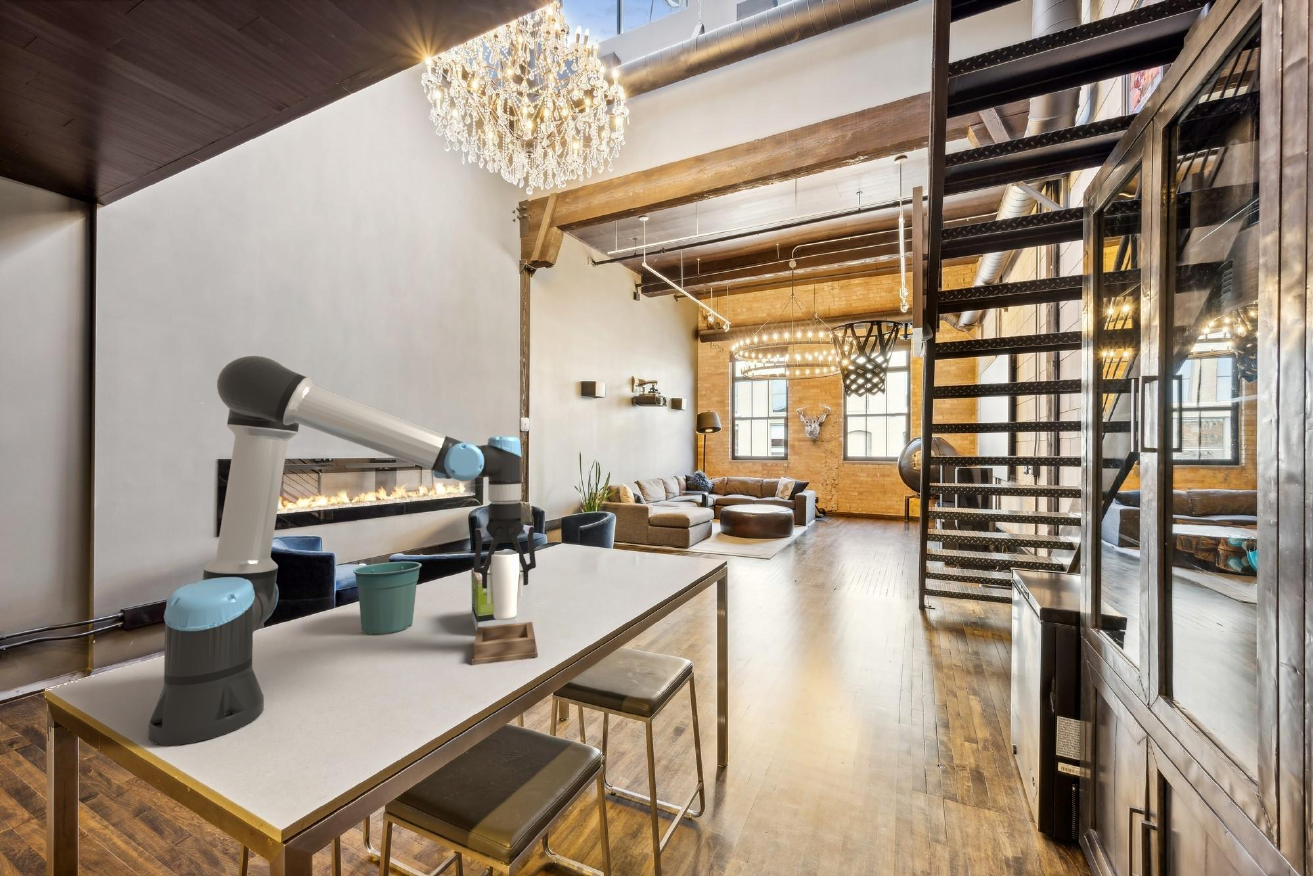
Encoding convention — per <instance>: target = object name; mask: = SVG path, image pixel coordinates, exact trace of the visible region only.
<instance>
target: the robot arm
mask: <svg viewBox="0 0 1313 876" xmlns="http://www.w3.org/2000/svg"><path fill="white" fill-rule="evenodd" d="M217 377H218V378H217V380H216V386H217V387H216V389H217V393H218V396H219V398H220V399H221V401H222V402H223V404H225V406H226V407H227V408H228V416H227V422H226V427H227V428H228V429H229V430H230V431H231V432H232V433H233V435H234V441H233V448H232V455H231V461H230V468H229V474H228V478H227V479H228V480H227V487H226V492H225V499H224V503H223V504H224V505H223V511H222V516H221V517H222V518H221V525H220V530H219V538H218V542H217V543H218V544H217V550H216V555H215V556H216V557H215V558H214V559H213V560H212V561H210V562H209V563H207V564H206V565H204V568H203V574H202V580H198V581H195V583H189V584H188V583H187V584H186V585H183V586H181V587H179V588H177V589H175V590H174V591H173V592H172V593H171V594H170V595H169V596H168V598H167V601H166V607H165V610H164V614H163V619H164V668H163V669H164V670H163V672H164V673H163V674H164V675H163V676H164V678H163V687H162V691H161V693H160V695H159V697H158V700H157V703H156V705H155V708H154V710H153V712H152V715H151V716H150V719H149V721H148V730H147V731H148V733H147V738H148V740H149V742H150V741H151V743H152V742H153V743H152V744H155V743H156V744H155V745H161V746H177V745H186V744H190V743H197V742H200V741H205V740H208V739H212V738H216V737H219V736H222V735H225V734H229V733H231V732H234V731H236V730H239V729H240V728H243V727H244V726H246V725H249V724H250V723H252V722H253V721H255V720H256V719H257V718H259V717H260V716H261V715H262V713H263V712H264V710H265V708H264V707H265V706H264V705H265V704H264V703H265V698H264V694H263V691H262V689H261V686H260V684H259V681H258V678H257V676H256V674H255V672H254V668H253V654H254V652H253V649H254V647H253V646H254V645H253V644H254V643H253V642H254V640H253V638H254V637H253V636H254V635H253V634H254V632H255V631H256V630H257V629H258V628H260V626H262V625H263V624H264V623H265V622H267V620H268V619H269V618H270V617H271V616H272V614H273V612H274V611H275V609H276V607H277V605H278V601H279V587H278V584H277V583H276V582H277V577H278V576H277V575H278V569H279V565H278V564H277V563H276V562H275V561H274V560H273V559H272V557H271V556H272V554H271V553H272V548H273V542H274V535H275V528H276V522H277V516H278V515H277V514H278V508H279V502H280V496H281V495H280V494H281V490H282V484H283V483H282V482H283V476H284V474H283V473H284V468H285V461H286V454H287V449H288V448H287V447H288V442H289V440H290V439H292V438H294V436H296V435H298V434H299V427H300V425H301V426H305V427H308V428H309V429H310V428H311V429H313V430H316V431H319V432H321V433H325V434H328V435H330V436H333V437H337V438H338V439H342V440H344V441H347V442H350V443H353V444H356V445H359V446H362V447H366V448H367V449H371V450H373V451H377V452H378V453H382V454H385V455H387V456H391V457H394V458H396V459H399V460H402V461H405V462H408V463H411V464H413V465H417V466H418V467H419V466H420V467H422V468H425V469H427V470H430V471H432V472H433V477H434V478H436V479H445V480H450V479H454V480H457V481H460V482H468V481H471V480H472V481H473V480H474V479H475V478H487V480H488V486H487V489H488V492H487V493H488V496H487V498H488V499H487V500H488V501H489V502H490V503H489V504H488V509H487V510H488V511H487V512H488V513H487V514H488V515H487V516H488V520H487V521H488V522H487V524H486V526H484V527H480V528H479V527H478V528H475V530H474V534H475V538H476V543H475V552H474V553H475V554H474V562H473V568H474V572H475V573H480V574H481V575H482V588H483V589H484V588H487V604H489V603H491V574H490V573H488V569H489V566H490V564H491V556H492V555H494V552H496V550H497V546H498V543H499V544H501V543H504V542H507V543H512V544H513V547H514V551H516V553H519V561H520V567H521V569H522V570H521V569H520V578H519V601H521V602H522V601H524V586H528V585H529V572H530V570H533V569H535V568H536V567H537V562H536V553H535V552H536V551H535V544H534V534H535V530H536V529H535V527H534V526H535V525H526V524H524V522H523V520H522V516H523V515H522V503H521V502H520V501H521V500H522V457H523V455H522V449H521V448H522V447H521V440H520V439H519V438H518V437H516V436H490V437H488V440H487V444H481V445H474V444H472V443H470V442H464V441H462V440H458V439H455V438H453V437H450V436H446V435H445V434H442V433H441V432H437V431H435V430H432V429H430V428H427V427H424V426H421V425H419V424H416V423H414V422H411V421H408V420H406V419H403V418H402V417H401V418H400V417H398V416H395V415H392V414H390V413H388V412H384V411H382V410H380V409H377V408H375V407H371V406H368V405H366V404H363V403H361V402H358V401H356V400H353V399H351V398H347V397H345V396H343V395H340V394H338V393H334V392H332V391H329V390H326V389H324V388H322V387H319V386H316V385H314V383H313V381H312V380H311V378H310V377H308V376H304V375H302V374H300V373H298V372H295V371H293V370H291V369H290V368H287V367H285V366H283V365H282V364H281V363H279V362H277V361H275V360H273V359H271V358H269V357H265V356H260V355H247V356H242V357H239V358H236V359H234V360H232V361H230V362H229V363H227V364H226V365H225V366H224V367H223V368H222V370H220V372H219V375H218V376H217ZM523 530H524V533H525V535H526V536H527V547H528V556H529V563H527V561H526V558H525V556H524V554H523V550H522V547H521V545H520V542H519V539H518V536H519V535H520V534H521V532H522V531H523ZM486 532H488V534H489V536H491V538H492V541H491V545H490V546H489V550H488V553H487V556H486V558H485V561H484V564H483V566H481V558H482V557H481V556H482V549H483V547H482V546H483V538H484V537H485V536H486Z"/></svg>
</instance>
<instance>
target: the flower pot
mask: <svg viewBox="0 0 1313 876" xmlns="http://www.w3.org/2000/svg"><path fill="white" fill-rule="evenodd" d="M421 568H422V563H419V562H416V561H394V562H393V561H392V562H382V563H372V564H368V565H364V566H359V567H356V568H354V569H353V570H352V572H353V574H354V575H355V584H356V587H357V592H358V601H359V611H360V615H359V616H360V624H361V632H363V633H364V634H368V635H374V634H375V633H377V634H379V635H385V634H393V633H392V632H394V633H397V632H400V631H404V630H406V628H407V629H408V628H409V627H411V626H412V625H413V622H414V612H415V604H416V592H417V585H418V584H417V583H418V580H419V577H420V576H419V575H420V569H421Z"/></svg>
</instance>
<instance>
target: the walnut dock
mask: <svg viewBox="0 0 1313 876" xmlns="http://www.w3.org/2000/svg"><path fill="white" fill-rule="evenodd" d="M475 631H476V630H475ZM537 647H538V646H537V642H536V636H535V631H534V623H533V621H529V622H528V621H527V622H516V624H505V625H494V626H484V627H477V631H476V633H475V639H474V644H473V651H472V656H471V666H473V665H475V666H476V665H483V664H491V663H492V664H493V663H500V662H509V661H517V659H520V660H528V659H527V658H529V659H533V658H532V657H538V654H539V653H538V652H539V651H538V648H537ZM538 658H539V657H538Z"/></svg>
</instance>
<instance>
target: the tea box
mask: <svg viewBox="0 0 1313 876" xmlns="http://www.w3.org/2000/svg"><path fill="white" fill-rule="evenodd" d="M488 573H490V566H489V569H488ZM471 619H472V623H473V625H474V626H473V627H474V629H475V631H477V627H484V626H494V625H505V624H516V623H517V616H516V617H515V618H513V619H509V620H497V619H495V618H494V616H493V597H492V586H491V603H489V604H487V588H484V589H483V588H482V575H481V574H480V573H475V572H474V567H471Z"/></svg>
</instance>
